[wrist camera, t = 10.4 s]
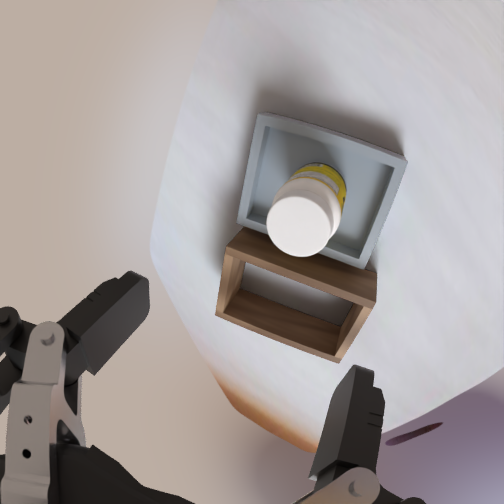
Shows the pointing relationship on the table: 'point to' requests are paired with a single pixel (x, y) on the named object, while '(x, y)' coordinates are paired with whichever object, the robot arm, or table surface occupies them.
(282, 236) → the supplement bottle
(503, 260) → the table surface
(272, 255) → the caddy
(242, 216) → the tray
